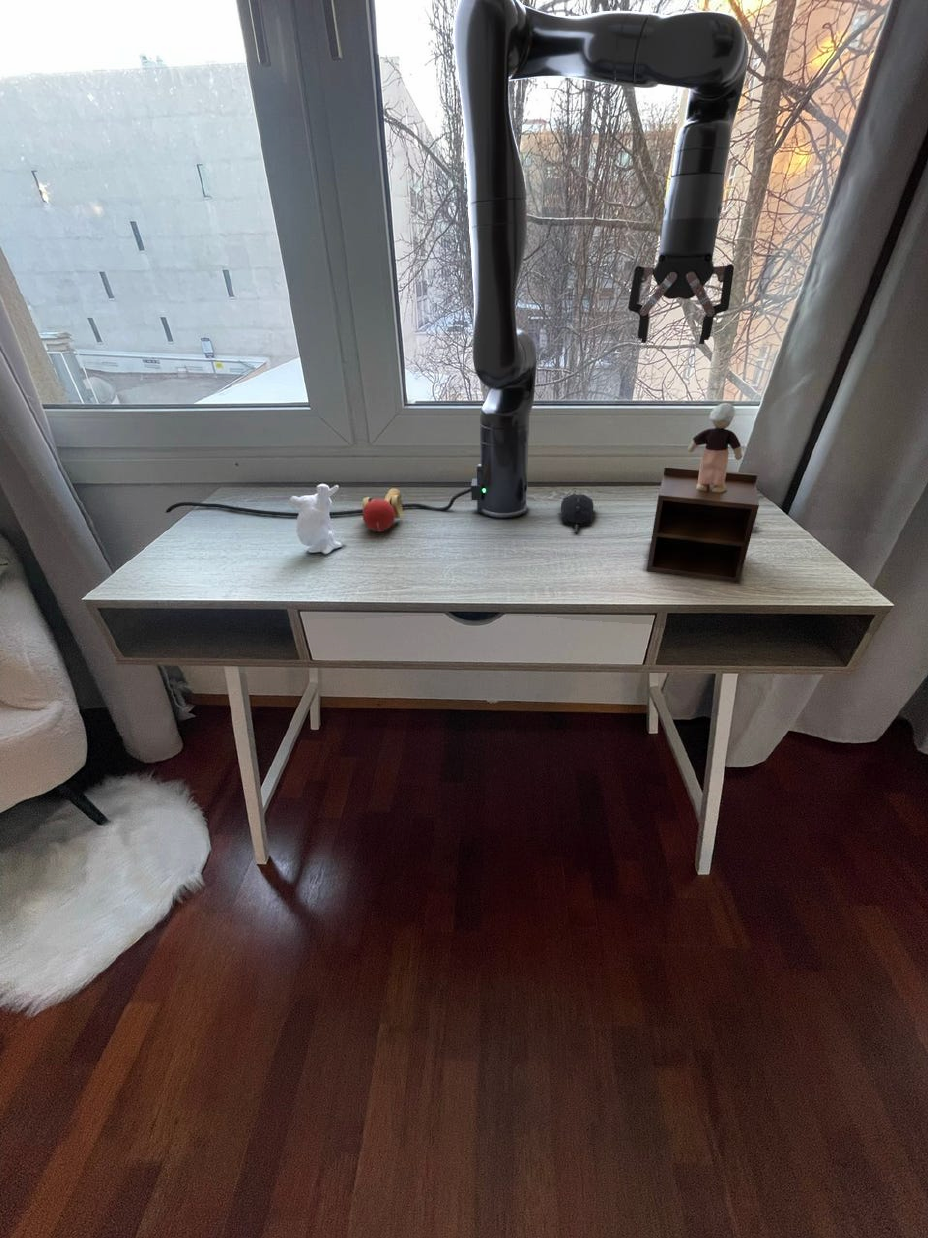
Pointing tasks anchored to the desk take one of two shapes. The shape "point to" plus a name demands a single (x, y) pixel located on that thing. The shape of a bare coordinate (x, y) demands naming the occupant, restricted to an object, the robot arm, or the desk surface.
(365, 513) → the kendama
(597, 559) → the desk surface
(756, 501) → the rack
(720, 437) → the grandmother figurine
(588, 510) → the gaming mouse
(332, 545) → the white sculpted figure
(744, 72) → the robot arm
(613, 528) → the desk surface
